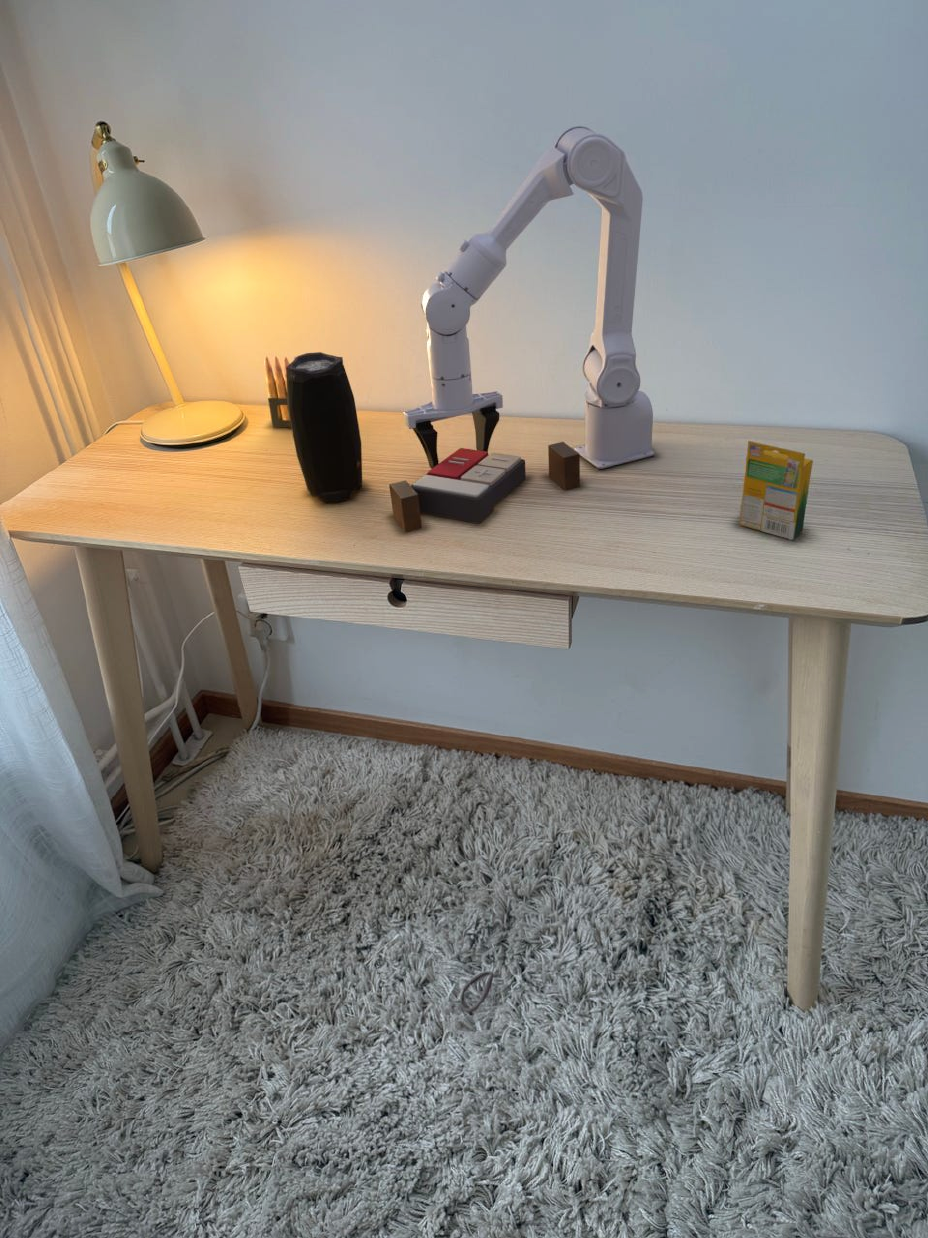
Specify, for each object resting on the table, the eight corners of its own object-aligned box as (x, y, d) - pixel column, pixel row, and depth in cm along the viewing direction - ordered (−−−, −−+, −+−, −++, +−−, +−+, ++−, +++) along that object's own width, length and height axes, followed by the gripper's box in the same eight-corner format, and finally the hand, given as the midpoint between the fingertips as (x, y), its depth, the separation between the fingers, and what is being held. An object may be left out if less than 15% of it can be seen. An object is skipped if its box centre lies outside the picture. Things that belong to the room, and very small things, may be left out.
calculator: (526, 454, 132) (478, 494, 120) (526, 482, 134) (479, 523, 123) (458, 444, 136) (406, 482, 125) (460, 471, 138) (409, 511, 127)
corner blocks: (563, 473, 134) (563, 441, 131) (579, 486, 130) (579, 453, 127) (393, 516, 127) (388, 484, 124) (405, 532, 123) (401, 498, 120)
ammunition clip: (272, 426, 158) (258, 357, 151) (276, 422, 159) (263, 354, 152) (329, 428, 155) (318, 358, 148) (333, 424, 156) (322, 355, 150)
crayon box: (803, 531, 115) (816, 445, 108) (792, 541, 113) (805, 454, 107) (749, 516, 119) (758, 432, 113) (738, 525, 117) (747, 440, 111)
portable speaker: (379, 486, 135) (360, 355, 124) (330, 511, 129) (306, 377, 118) (341, 472, 140) (320, 345, 129) (292, 495, 134) (266, 365, 123)
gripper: (486, 355, 133) (492, 442, 141) (392, 375, 129) (403, 463, 137) (506, 369, 128) (511, 459, 135) (409, 390, 124) (419, 481, 131)
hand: (458, 462), depth 136 cm, fingers open, 7 cm apart
